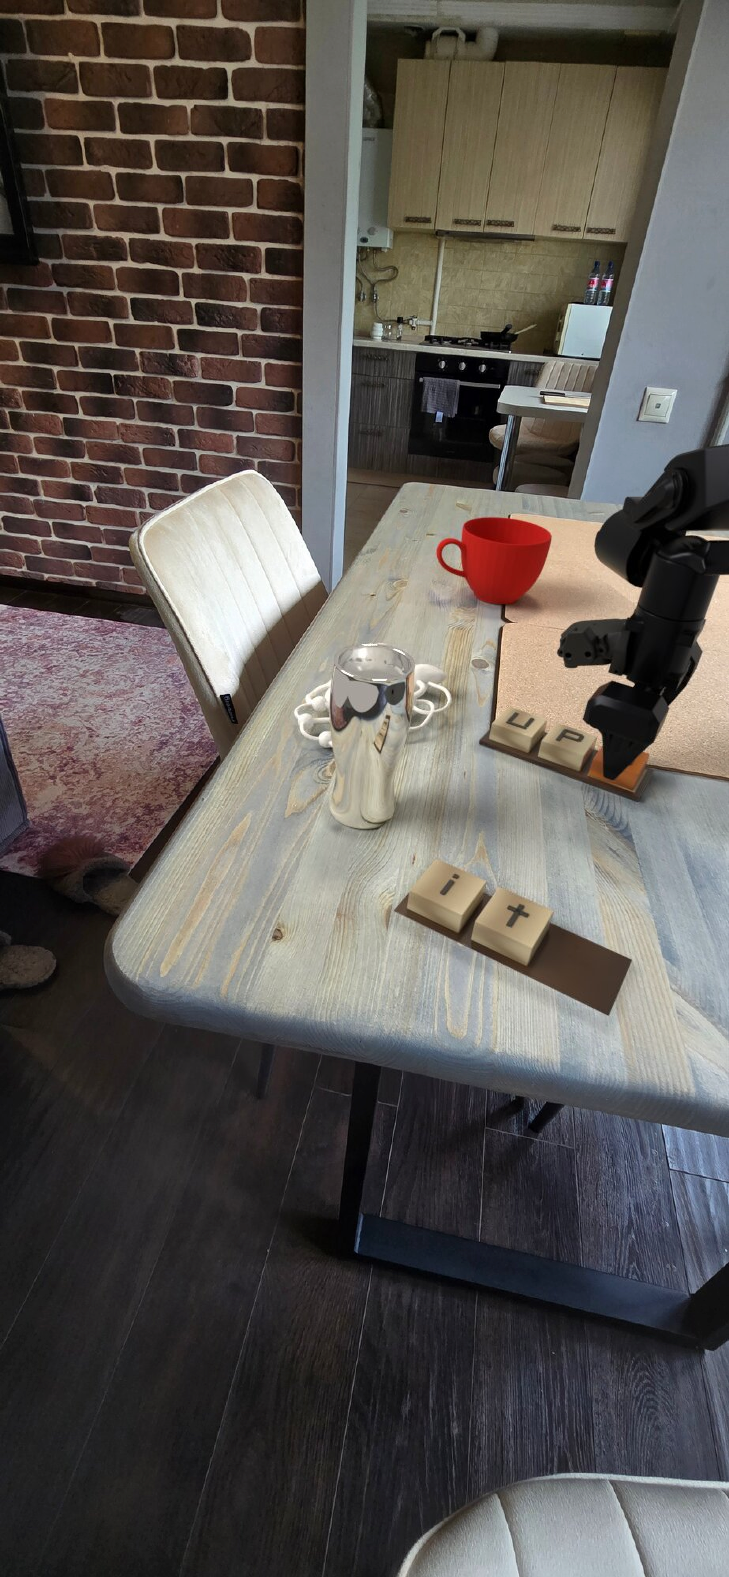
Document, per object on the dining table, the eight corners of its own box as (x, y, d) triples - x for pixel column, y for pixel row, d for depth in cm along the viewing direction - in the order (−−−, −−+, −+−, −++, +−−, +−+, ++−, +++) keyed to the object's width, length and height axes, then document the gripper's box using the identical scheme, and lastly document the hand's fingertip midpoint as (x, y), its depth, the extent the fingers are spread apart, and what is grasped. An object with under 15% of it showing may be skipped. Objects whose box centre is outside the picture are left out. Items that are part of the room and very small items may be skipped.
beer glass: (402, 790, 70) (419, 646, 62) (397, 837, 65) (416, 686, 56) (330, 782, 71) (337, 638, 62) (319, 828, 65) (325, 676, 56)
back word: (653, 773, 76) (660, 752, 74) (637, 802, 72) (645, 780, 70) (501, 720, 82) (505, 700, 81) (478, 743, 78) (482, 722, 77)
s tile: (644, 770, 75) (650, 752, 74) (632, 790, 72) (638, 773, 71) (601, 755, 77) (606, 738, 76) (588, 774, 74) (593, 757, 73)
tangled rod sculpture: (370, 785, 73) (375, 752, 70) (261, 723, 78) (262, 691, 76) (467, 707, 85) (475, 677, 83) (367, 659, 91) (371, 629, 88)
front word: (630, 963, 55) (640, 939, 53) (606, 1019, 51) (616, 995, 49) (428, 872, 61) (432, 848, 60) (392, 914, 57) (395, 890, 56)
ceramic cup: (418, 582, 115) (425, 517, 110) (517, 579, 119) (529, 516, 114) (445, 616, 105) (455, 546, 100) (552, 611, 109) (568, 544, 104)
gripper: (611, 559, 74) (574, 696, 83) (546, 616, 61) (511, 771, 70) (727, 587, 70) (674, 728, 79) (683, 655, 56) (627, 815, 66)
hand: (622, 756), depth 73 cm, fingers open, 9 cm apart
